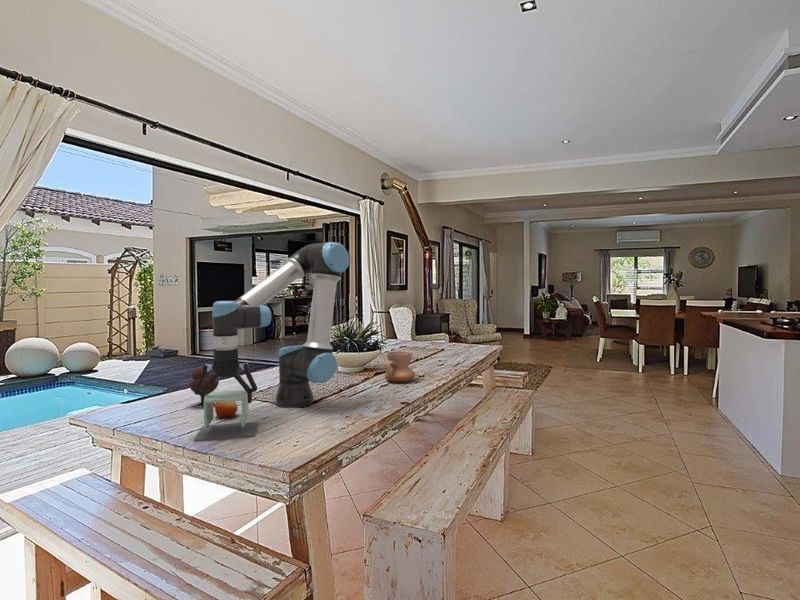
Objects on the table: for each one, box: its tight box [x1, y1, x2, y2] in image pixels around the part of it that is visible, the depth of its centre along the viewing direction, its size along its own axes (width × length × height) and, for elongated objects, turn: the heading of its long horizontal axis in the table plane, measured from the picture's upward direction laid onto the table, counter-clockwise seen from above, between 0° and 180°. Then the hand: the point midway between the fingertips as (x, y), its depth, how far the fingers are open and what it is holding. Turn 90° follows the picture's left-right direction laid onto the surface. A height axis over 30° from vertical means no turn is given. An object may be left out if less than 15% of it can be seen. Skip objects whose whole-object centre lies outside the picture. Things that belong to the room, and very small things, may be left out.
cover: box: [203, 389, 249, 430], centre depth 153 cm, size 12×12×9 cm
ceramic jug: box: [384, 350, 416, 384], centre depth 226 cm, size 18×14×14 cm
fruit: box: [214, 401, 239, 419], centre depth 170 cm, size 8×8×8 cm
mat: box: [193, 421, 259, 442], centre depth 154 cm, size 18×14×1 cm
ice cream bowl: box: [188, 367, 220, 408], centre depth 185 cm, size 11×11×15 cm
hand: (227, 414), depth 153 cm, fingers closed on cover, 12 cm apart
